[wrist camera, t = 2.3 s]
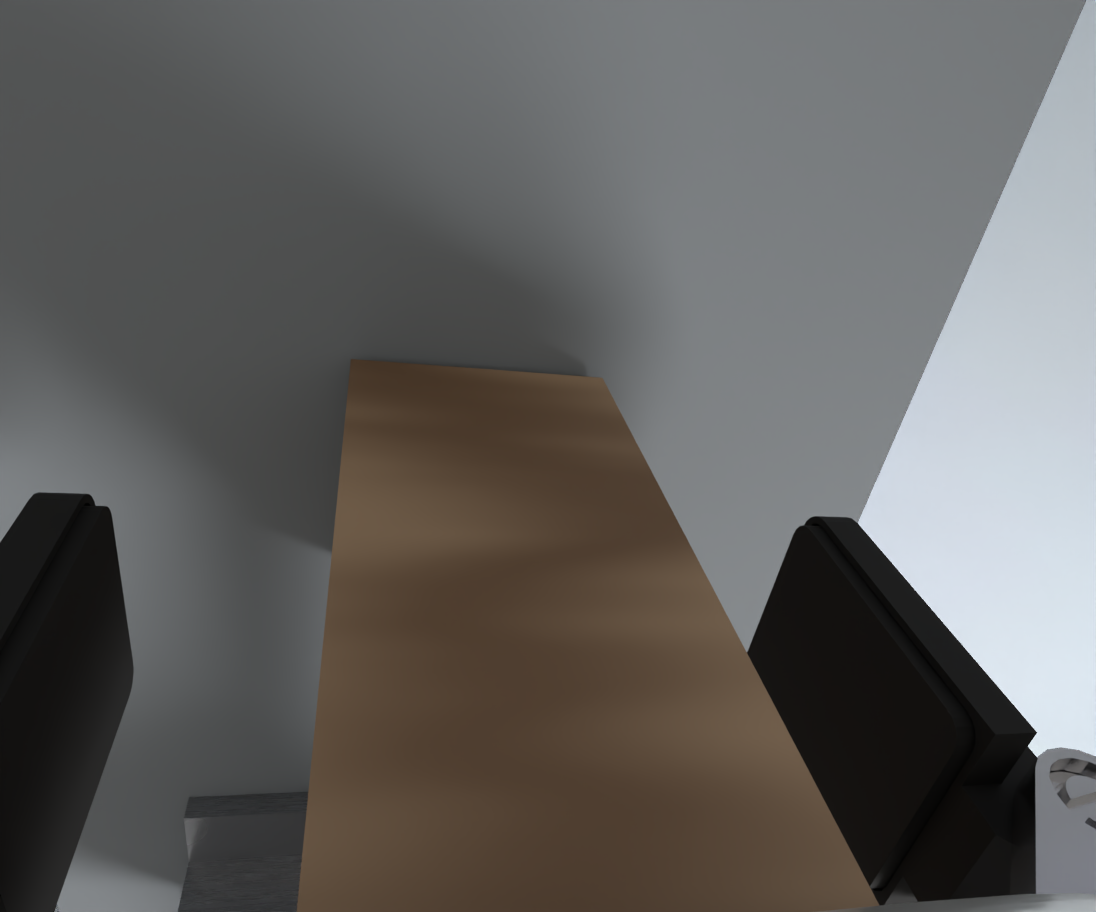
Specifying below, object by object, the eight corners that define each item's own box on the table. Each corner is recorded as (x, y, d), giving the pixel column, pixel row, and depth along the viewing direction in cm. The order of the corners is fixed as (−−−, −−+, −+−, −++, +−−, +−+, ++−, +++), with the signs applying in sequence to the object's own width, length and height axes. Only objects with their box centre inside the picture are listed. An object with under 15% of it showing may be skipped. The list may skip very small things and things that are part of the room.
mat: (1257, -451, 9) (1289, -467, 9) (650, 973, 25) (654, 987, 25) (-460, -1150, 6) (-514, -1220, 5) (100, 1033, 21) (96, 1050, 21)
